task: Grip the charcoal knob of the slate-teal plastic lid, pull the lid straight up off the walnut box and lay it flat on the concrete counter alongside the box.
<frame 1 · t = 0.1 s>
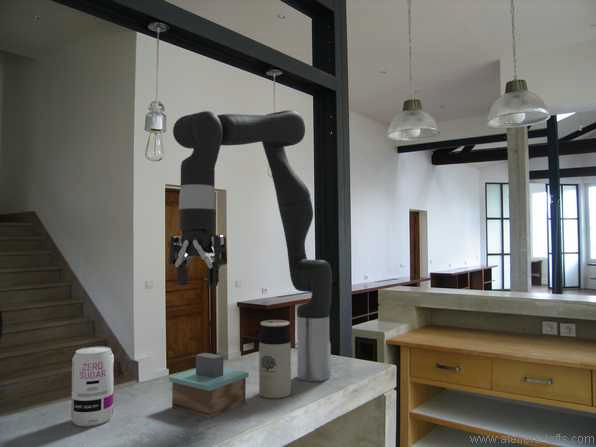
hand: (197, 285, 98), 29 cm above the countertop, fingers open, 8 cm apart
lid: (209, 384, 111), point 5 cm above the countertop, touching box
box: (209, 404, 110), on the countertop
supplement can: (92, 421, 101), on the countertop
travel mug: (275, 395, 118), on the countertop
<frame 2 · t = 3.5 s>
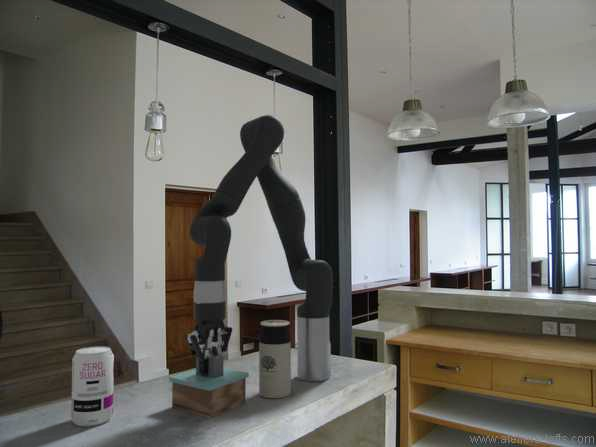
hand: (209, 372, 111), 7 cm above the countertop, fingers closed on lid, 3 cm apart
lid: (209, 384, 111), point 5 cm above the countertop, touching box, gripper
everything else where it was.
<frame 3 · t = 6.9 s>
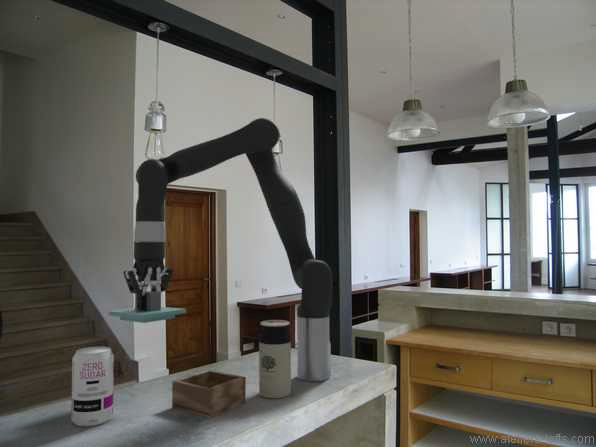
hand: (148, 309, 116), 22 cm above the countertop, fingers closed on lid, 3 cm apart
lid: (147, 319, 116), point 19 cm above the countertop, touching gripper
everything else where it was.
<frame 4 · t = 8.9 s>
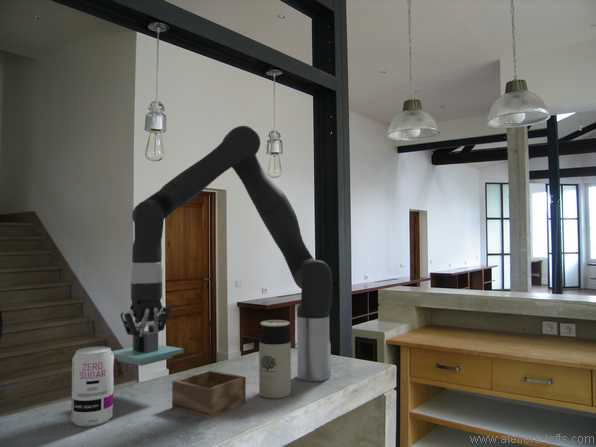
hand: (145, 350, 116), 12 cm above the countertop, fingers closed on lid, 3 cm apart
lid: (145, 359, 116), point 9 cm above the countertop, touching gripper
everything else where it was.
when the fingers open (4 cm above the countertop, at t = 10.6 s): lid drops 2 cm, on the countertop.
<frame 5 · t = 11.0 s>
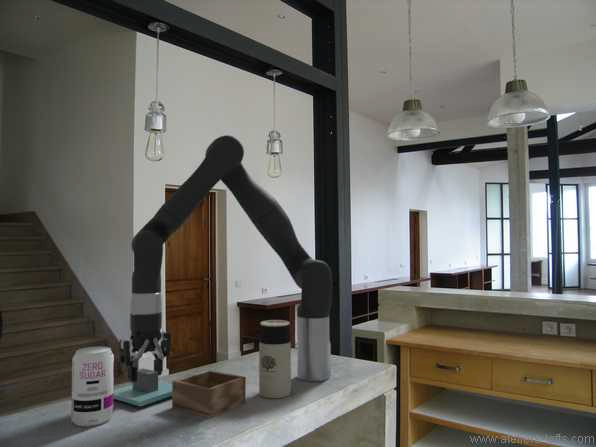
hand: (145, 378, 116), 5 cm above the countertop, fingers open, 6 cm apart
lid: (145, 398, 116), on the countertop
everything else where it was.
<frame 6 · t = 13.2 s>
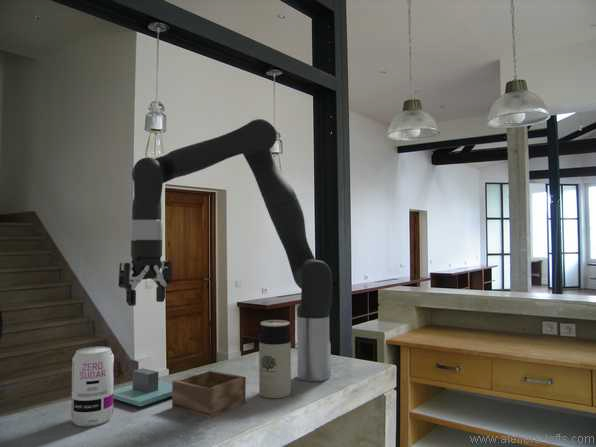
hand: (146, 303, 117), 23 cm above the countertop, fingers open, 8 cm apart
nothing on the countertop moved.
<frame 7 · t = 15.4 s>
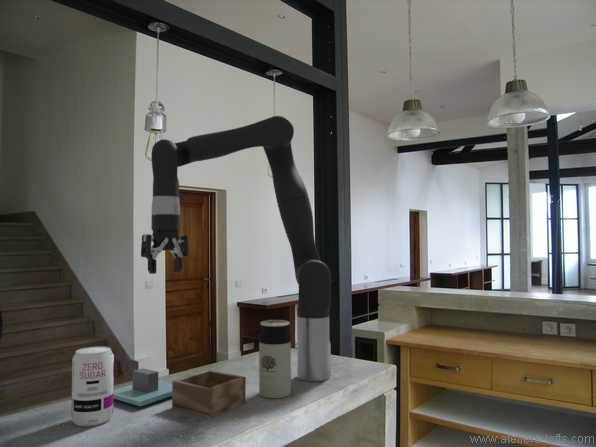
hand: (165, 272, 128), 30 cm above the countertop, fingers open, 8 cm apart
nothing on the countertop moved.
at the end: lid inside the target area (0.1 cm from its centre), on the countertop; lid tilted 0°; the gripper is holding nothing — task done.
